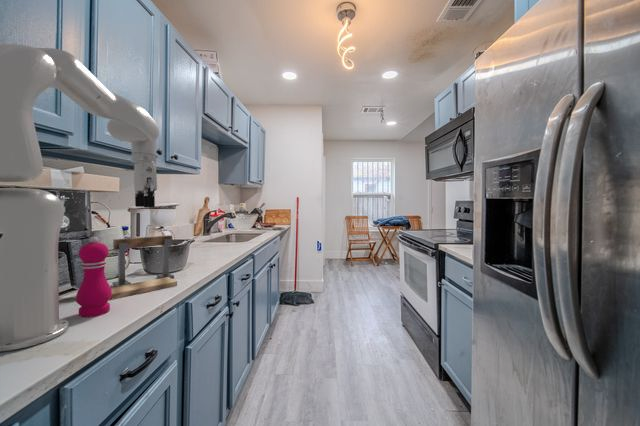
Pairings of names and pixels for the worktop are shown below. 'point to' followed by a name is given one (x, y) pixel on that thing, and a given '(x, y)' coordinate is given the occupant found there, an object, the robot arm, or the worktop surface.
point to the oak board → (142, 287)
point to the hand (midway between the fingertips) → (144, 207)
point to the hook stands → (121, 263)
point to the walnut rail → (141, 241)
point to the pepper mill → (93, 280)
